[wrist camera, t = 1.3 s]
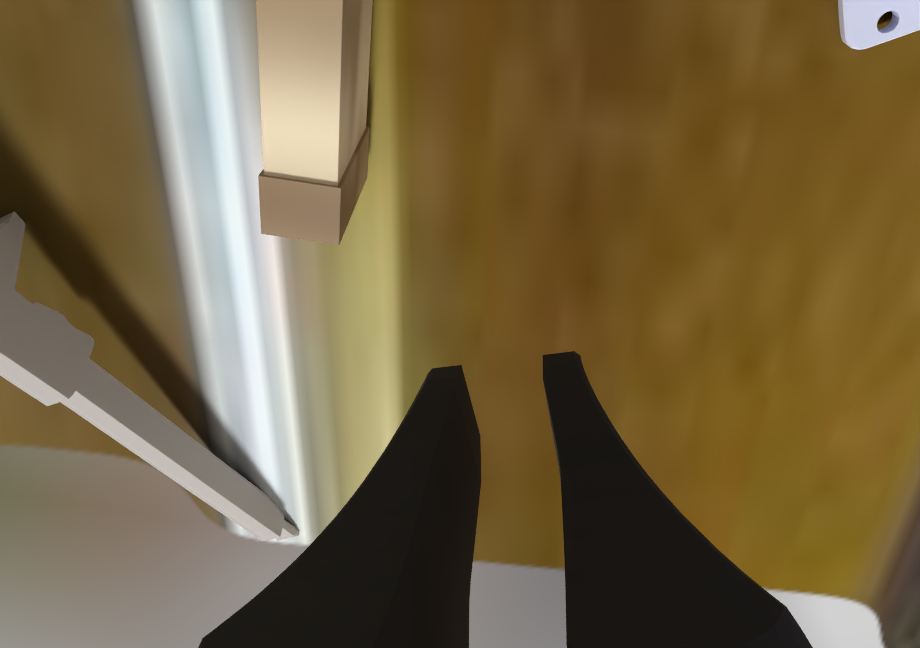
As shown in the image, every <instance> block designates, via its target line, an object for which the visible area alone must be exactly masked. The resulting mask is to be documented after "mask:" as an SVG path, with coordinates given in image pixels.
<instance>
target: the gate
mask: <svg viewBox="0 0 920 648" xmlns="http://www.w3.org/2000/svg"><path fill="white" fill-rule="evenodd" d="M372 5H373V0H256V9H257V31H258V54H259V77H260V99H261V122H262V145H263V167H264V169H263V170H262V172H261V173H260V175H259V197H260V217H261V234H267V235H274V236H281V237H287V238H294V239H301V240H307V241H314V242H321V243H327V244H334V245H339V244H340V242H341V239H342V237H343V234H344V232H345V230H346V227H347V225H348V222H349V220H350V217H351V215H352V213H353V210H354V208H355V205H356V203H357V200H358V198H359V196H360V193H361V191H362V188H363V186H364V184H365V181H366V179H367V171H368V154H369V136H370V127H368V126H366V119H367V100H368V81H369V62H370V43H371V24H372Z"/></svg>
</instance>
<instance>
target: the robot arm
mask: <svg viewBox="0 0 920 648" xmlns="http://www.w3.org/2000/svg"><path fill="white" fill-rule="evenodd" d="M838 9H839V23H840V35H841V38H842V41H843V42H844V43H845V44H847V45H848V46H849V47H851V48H854V49H858V50H860V49H866V48H869V47H872V46H875V45H878V44H881V43H884V42H886V41H889V40H892V39H895V38H898V37H901V36H904V35H906V34H909V33H912V32H915V31H918V30H920V0H838ZM888 11H891V12H892V19H891V21H890V22H889V24H888V25H887V26H886V27H884V28H882V29H877V22H878V20H879V18H880V17H881V16H882V15H883V14H884V13H886V12H888ZM543 381H544V387H545V392H546V398H547V404H548V409H549V415H550V420H551V426H552V432H553V437H554V443H555V448H556V454H557V460H558V465H559V471H560V476H561V492H562V511H563V532H564V556H565V582H566V628H567V629H566V631H567V648H813V647H812V646H811V644H810V643H809V641H808V639H807V638H806V636H805V634H804V633H803V631H802V630H801V628H800V626H799V625H798V624H797V622H796V621H795V619H794V618H793V616H792V615H791V613H790V612H789V610H788V609H787V607H786V606H785V605H783V604H782V603H781V602H779V601H778V600H777V599H776V598H774V597H773V596H772V595H771V594H769V593H768V592H767V591H766V590H764V589H763V588H762V587H761V586H759V585H758V584H757V583H756V582H755V581H753V580H752V579H751V578H750V577H749V576H747V575H746V574H745V573H744V572H743V571H741V570H740V569H739V568H738V567H737V566H736V565H735V564H734V563H732V562H731V561H730V560H729V559H728V558H727V557H726V556H725V555H723V554H722V553H721V552H720V551H719V550H718V549H717V548H716V547H715V546H714V545H713V544H712V543H711V542H710V541H709V540H708V539H707V538H706V537H705V536H704V535H703V534H702V533H701V532H700V531H699V530H698V529H697V528H696V527H695V526H694V525H693V524H692V523H691V522H690V521H689V520H687V519H686V518H685V517H684V516H683V515H682V513H681V512H680V511H679V510H678V509H677V508H676V507H675V506H674V505H673V504H672V502H671V501H670V500H669V499H668V498H667V497H666V496H665V495H664V494H663V492H662V491H661V490H660V489H659V488H658V486H657V485H656V484H655V483H654V482H653V480H652V479H651V478H650V477H649V476H648V474H647V473H646V472H645V470H644V469H643V468H642V467H641V465H640V464H639V463H638V461H637V460H636V459H635V457H634V456H633V454H632V453H631V452H630V450H629V449H628V447H627V446H626V445H625V443H624V442H623V440H622V439H621V437H620V436H619V434H618V433H617V431H616V430H615V428H614V426H613V425H612V423H611V421H610V420H609V418H608V416H607V415H606V413H605V411H604V410H603V408H602V406H601V405H600V403H599V401H598V399H597V397H596V395H595V393H594V391H593V389H592V387H591V385H590V383H589V381H588V378H587V376H586V373H585V371H584V368H583V365H582V362H581V357H580V355H579V354H577V353H576V352H574V351H573V352H565V353H557V354H548V355H543ZM480 486H481V447H480V433H479V429H478V426H477V422H476V418H475V415H474V411H473V407H472V403H471V400H470V396H469V392H468V388H467V385H466V381H465V377H464V374H463V370H462V366H461V365H458V366H450V367H441V368H433V369H431V371H430V372H429V373H428V375H427V377H426V379H425V381H424V383H423V384H422V386H421V388H420V390H419V392H418V394H417V396H416V398H415V400H414V402H413V403H412V405H411V407H410V409H409V411H408V412H407V414H406V416H405V418H404V419H403V421H402V423H401V424H400V426H399V428H398V429H397V431H396V433H395V434H394V436H393V438H392V439H391V441H390V443H389V444H388V446H387V447H386V449H385V451H384V452H383V454H382V455H381V457H380V458H379V459H378V461H377V462H376V464H375V465H374V467H373V468H372V470H371V471H370V473H369V474H368V476H367V477H366V479H365V480H364V481H363V483H362V484H361V485H360V487H359V488H358V489H357V491H356V492H355V493H354V495H353V496H352V497H351V498H350V500H349V501H348V502H347V504H346V505H345V506H344V507H343V508H342V510H341V511H340V512H339V513H338V515H337V516H336V517H335V518H334V519H333V520H332V522H331V523H330V524H329V525H328V526H327V527H326V528H325V529H324V530H323V532H322V533H321V534H320V535H319V536H318V537H317V538H316V539H315V540H314V542H313V543H312V544H311V545H310V546H309V547H308V548H307V549H306V550H305V551H304V552H303V553H302V554H301V555H300V556H299V557H298V558H297V559H296V560H295V561H294V562H293V563H292V564H291V565H290V566H289V567H288V568H287V569H286V570H285V571H283V572H282V573H281V574H280V575H279V576H278V577H277V578H276V579H275V580H274V581H273V582H271V583H270V584H269V585H268V586H267V587H266V588H265V589H264V590H263V591H262V592H260V593H259V594H258V595H257V596H256V597H254V599H252V600H251V601H250V602H248V603H247V604H246V605H245V606H244V607H242V608H241V609H240V610H238V611H237V612H236V613H235V614H233V615H232V616H231V617H230V618H228V619H227V620H226V621H224V622H223V623H222V624H221V625H219V626H218V627H217V628H216V629H214V630H213V631H212V632H210V633H209V634H208V635H206V636H205V637H204V638H203V639H202V641H201V643H200V645H199V648H469V596H470V581H471V572H472V562H473V553H474V544H475V535H476V525H477V516H478V506H479V496H480Z"/></svg>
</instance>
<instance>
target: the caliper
mask: <svg viewBox="0 0 920 648" xmlns="http://www.w3.org/2000/svg"><path fill="white" fill-rule="evenodd" d="M25 226H26V225H25V223H24V221H23V220H22V219H21V218H20V217H19V216H18V215H17V214H16V212H15V211H14V212H12V213H10V214H7V215H5V216H3V217H1V218H0V376H2V377H3V378H5V379H6V380H8V381H9V382H11V383H13V384H14V385H16V386H17V387H19V388H20V389H22V390H23V391H25V392H26V393H28V394H29V395H31V396H32V397H34V398H35V399H37V400H39V401H40V402H42V403H43V404H45V405H46V406H49V405H52V404H55V403H58V402H61V403H63V404H64V405H65V406H67V407H68V408H70V409H71V410H73V411H74V412H76V413H77V414H78V415H80V416H81V417H83V418H84V419H86V420H87V421H89V422H90V423H91V424H93V425H94V426H96V427H97V428H99V429H100V430H102V431H103V432H105V433H106V434H107V435H109V436H110V437H112V438H113V439H115V440H116V441H118V442H119V443H120V444H122V445H123V446H125V447H126V448H128V449H129V450H131V451H132V452H133V453H135V454H136V455H138V456H139V457H141V458H142V459H144V460H145V461H146V462H148V463H149V464H151V465H152V466H154V467H155V468H157V469H158V470H159V471H161V472H162V473H164V474H165V475H167V476H168V477H170V478H171V479H173V480H174V481H175V482H177V483H178V484H180V485H181V486H183V487H184V488H186V489H187V490H188V491H190V492H191V493H193V494H194V495H196V496H197V497H199V498H200V499H201V500H203V501H204V502H206V503H207V504H209V505H210V506H212V507H213V508H215V509H216V510H218V511H219V512H221V513H222V514H223V515H225V516H226V517H228V518H229V519H231V520H232V521H234V522H235V523H237V524H238V525H240V526H241V527H243V528H244V529H245V530H247V531H248V532H250V533H251V534H253V535H254V536H256V537H257V538H259V539H260V540H262V541H266V540H270V539H276V540H282V539H286V538H290V537H295V536H298V535H299V531H298V530H297V529H296V528H295V527H294V526H292V525H291V524H290V523H288V522H287V521H285V520H284V517H285V515H284V514H283V513H282V512H281V510H280V509H279V508H278V507H277V506H276V505H275V504H274V503H273V502H272V500H271V499H270V498H269V497H268V496H267V495H266V494H265V493H264V492H262V491H261V490H260V489H258V488H257V487H256V486H254V485H253V484H252V483H250V482H249V481H248V480H246V479H245V478H244V477H243V476H241V475H240V474H239V473H237V472H236V471H235V470H233V469H232V468H231V467H229V466H228V465H227V464H225V463H224V462H223V461H221V460H220V459H219V458H218V457H216V456H215V455H214V454H212V453H211V452H210V451H208V450H207V449H206V448H204V447H203V446H202V445H200V444H199V443H198V442H197V441H195V440H194V439H193V438H191V437H190V436H189V435H187V434H186V433H185V432H184V431H182V430H181V429H180V428H178V427H177V426H176V425H175V424H173V423H172V422H171V421H169V420H168V419H167V418H166V417H164V416H163V415H162V414H160V413H159V412H158V411H157V410H155V409H154V408H153V407H151V406H150V405H149V404H147V403H146V402H145V401H144V400H142V399H141V398H140V397H138V396H137V395H136V394H135V393H133V392H132V391H131V390H129V389H128V388H127V387H126V386H124V385H123V384H122V383H120V382H119V381H118V380H117V379H115V378H114V377H113V376H111V375H110V374H109V373H108V372H106V371H105V370H104V369H102V368H101V367H100V366H99V365H97V364H96V363H95V362H93V361H92V360H91V359H90V358H89V357H90V355H91V352H92V350H93V347H94V344H95V341H94V339H93V338H92V337H91V336H90V335H88V334H86V333H84V332H82V331H80V330H78V329H76V328H75V327H73V326H72V325H71V324H70V323H69V321H68V320H67V319H66V317H64V316H63V315H62V314H61V313H60V312H57V311H55V310H53V309H51V308H48V307H46V306H44V305H42V304H39V303H37V302H34V303H30V302H29V301H28V300H27V299H26V298H24V297H23V296H22V295H21V294H19V293H18V292H17V291H16V290H15V285H16V279H17V273H18V267H19V261H20V255H21V249H22V243H23V237H24V232H25Z"/></svg>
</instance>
